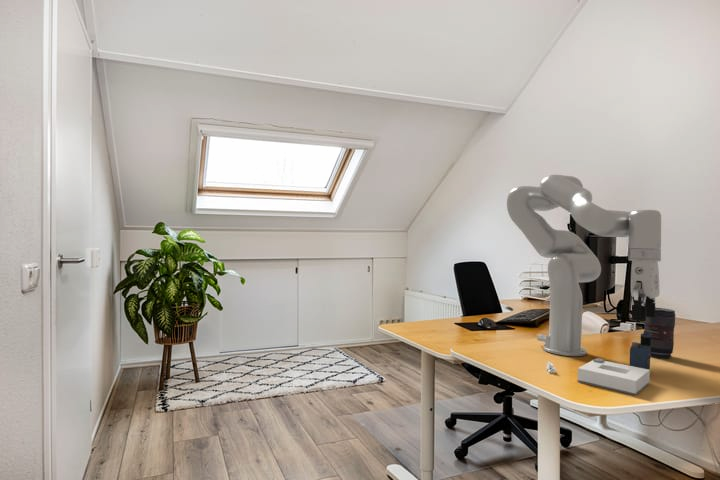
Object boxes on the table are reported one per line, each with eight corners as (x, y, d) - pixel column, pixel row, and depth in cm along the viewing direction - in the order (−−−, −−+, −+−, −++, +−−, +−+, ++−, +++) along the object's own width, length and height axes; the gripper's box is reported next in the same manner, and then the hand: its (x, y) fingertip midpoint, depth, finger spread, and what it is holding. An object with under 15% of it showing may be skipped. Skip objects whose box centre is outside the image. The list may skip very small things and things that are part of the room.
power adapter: (544, 371, 125) (544, 360, 125) (553, 372, 125) (554, 360, 125) (548, 375, 122) (549, 363, 122) (558, 375, 122) (558, 364, 122)
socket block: (577, 381, 116) (578, 366, 116) (594, 371, 125) (595, 357, 125) (635, 395, 107) (635, 378, 106) (649, 383, 116) (650, 367, 116)
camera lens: (678, 360, 138) (680, 311, 138) (649, 358, 140) (651, 310, 140) (666, 353, 146) (668, 307, 146) (638, 351, 148) (640, 306, 148)
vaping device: (645, 377, 121) (647, 332, 121) (627, 371, 126) (628, 328, 126) (652, 376, 122) (653, 331, 122) (633, 370, 127) (635, 327, 127)
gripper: (652, 256, 114) (651, 324, 114) (667, 255, 127) (667, 317, 127) (619, 255, 120) (618, 320, 120) (637, 254, 132) (636, 313, 132)
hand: (643, 318), depth 123 cm, fingers open, 9 cm apart
